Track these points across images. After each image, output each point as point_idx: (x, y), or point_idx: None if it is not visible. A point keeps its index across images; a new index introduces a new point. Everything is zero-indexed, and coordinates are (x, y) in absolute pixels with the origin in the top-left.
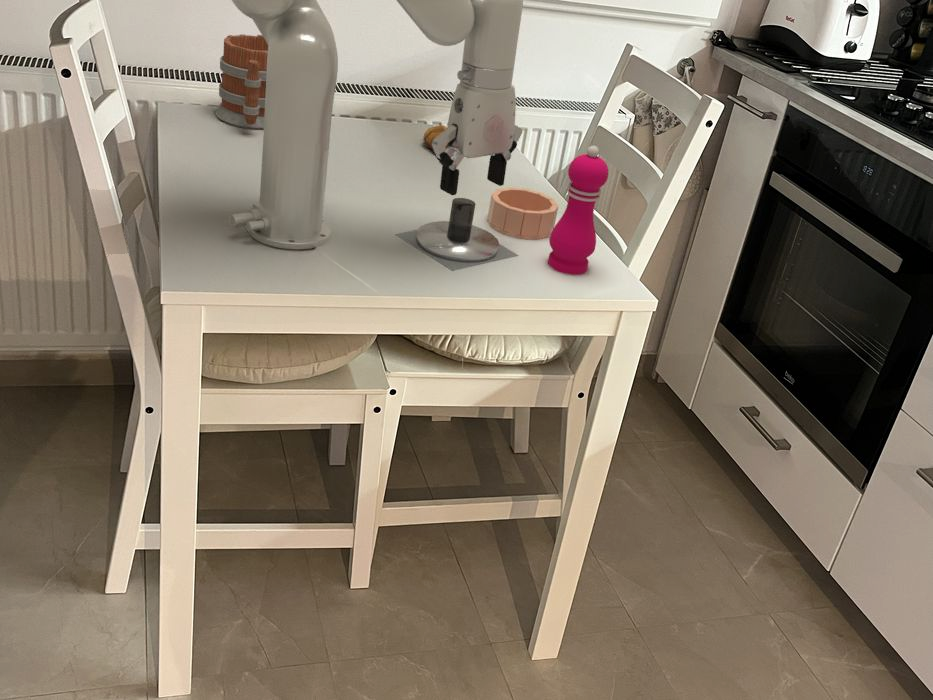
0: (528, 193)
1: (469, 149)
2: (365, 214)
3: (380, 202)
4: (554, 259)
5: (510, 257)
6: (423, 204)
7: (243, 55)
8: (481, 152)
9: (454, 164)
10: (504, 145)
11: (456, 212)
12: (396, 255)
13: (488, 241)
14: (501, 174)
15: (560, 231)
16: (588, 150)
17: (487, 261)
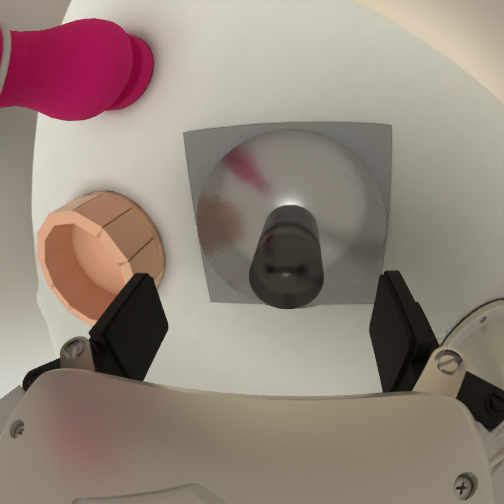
0: (68, 298)
1: (457, 441)
2: (350, 369)
3: (295, 388)
4: (140, 63)
5: (208, 129)
6: (232, 367)
7: None
8: (319, 424)
9: (448, 371)
10: (71, 406)
11: (321, 257)
12: (431, 238)
13: (229, 189)
14: (131, 300)
15: (98, 54)
16: None
17: (279, 127)
